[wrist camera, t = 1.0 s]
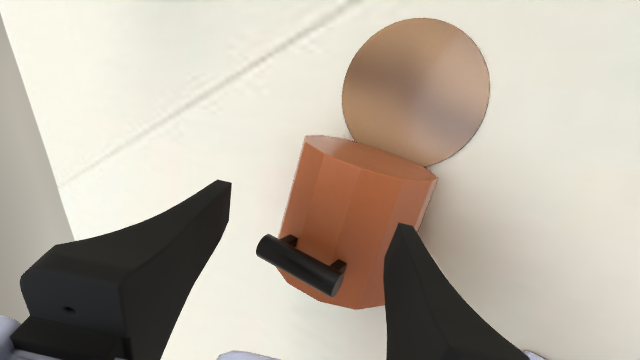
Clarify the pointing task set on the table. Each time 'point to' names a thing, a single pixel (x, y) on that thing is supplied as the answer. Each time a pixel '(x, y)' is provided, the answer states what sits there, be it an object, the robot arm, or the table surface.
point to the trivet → (416, 90)
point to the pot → (345, 219)
